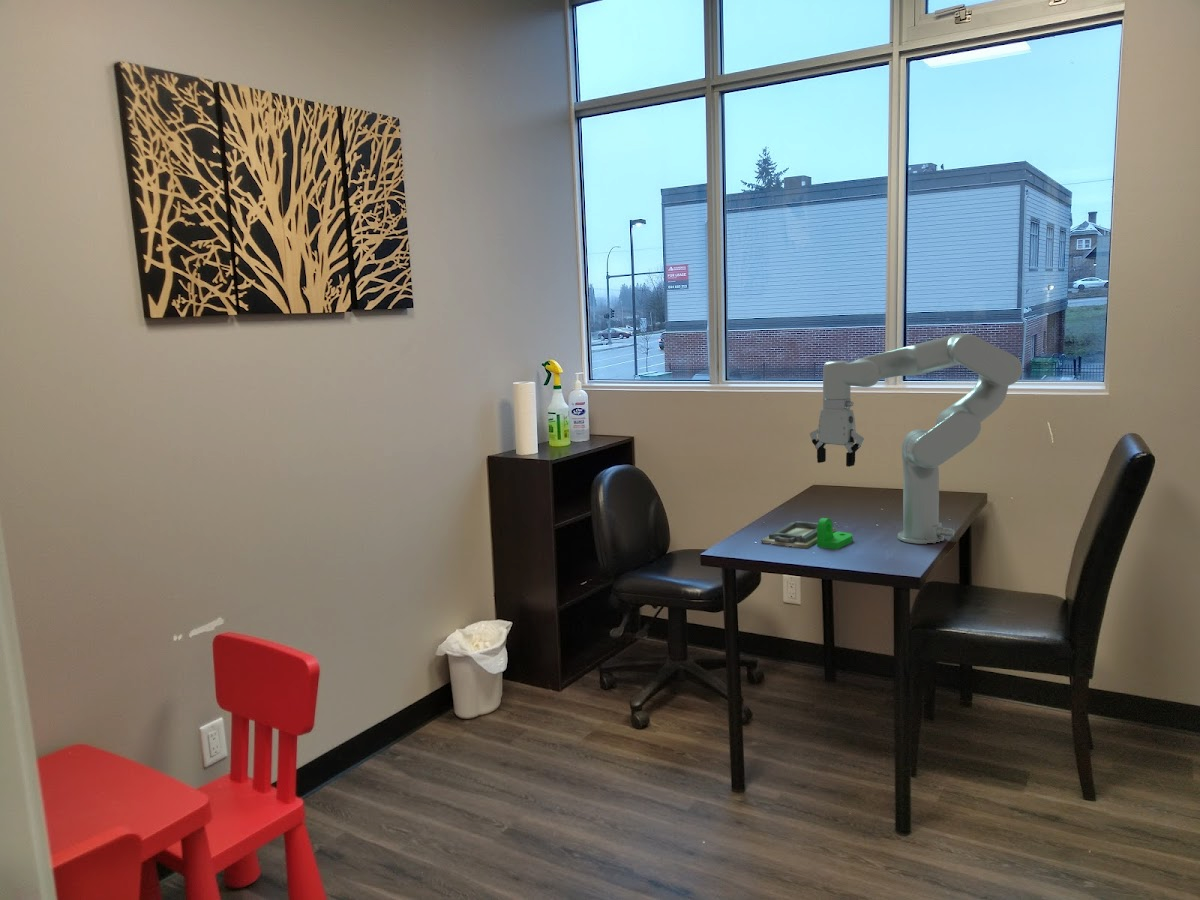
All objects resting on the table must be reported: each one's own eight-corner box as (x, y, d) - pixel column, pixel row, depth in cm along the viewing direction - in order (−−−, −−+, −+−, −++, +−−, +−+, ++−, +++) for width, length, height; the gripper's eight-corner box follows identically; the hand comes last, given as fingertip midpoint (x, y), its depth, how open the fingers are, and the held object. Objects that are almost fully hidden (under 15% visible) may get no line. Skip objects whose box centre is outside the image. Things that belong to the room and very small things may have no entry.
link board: (835, 531, 261) (834, 522, 260) (806, 548, 243) (806, 539, 243) (791, 526, 269) (791, 518, 268) (761, 543, 251) (761, 534, 251)
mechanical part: (836, 550, 241) (836, 522, 240) (817, 547, 245) (817, 519, 244) (856, 540, 250) (855, 513, 248) (836, 538, 254) (836, 511, 252)
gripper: (870, 405, 240) (869, 465, 243) (818, 401, 253) (818, 459, 256) (855, 407, 235) (854, 469, 238) (803, 404, 248) (802, 462, 251)
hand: (835, 464), depth 247 cm, fingers open, 9 cm apart
